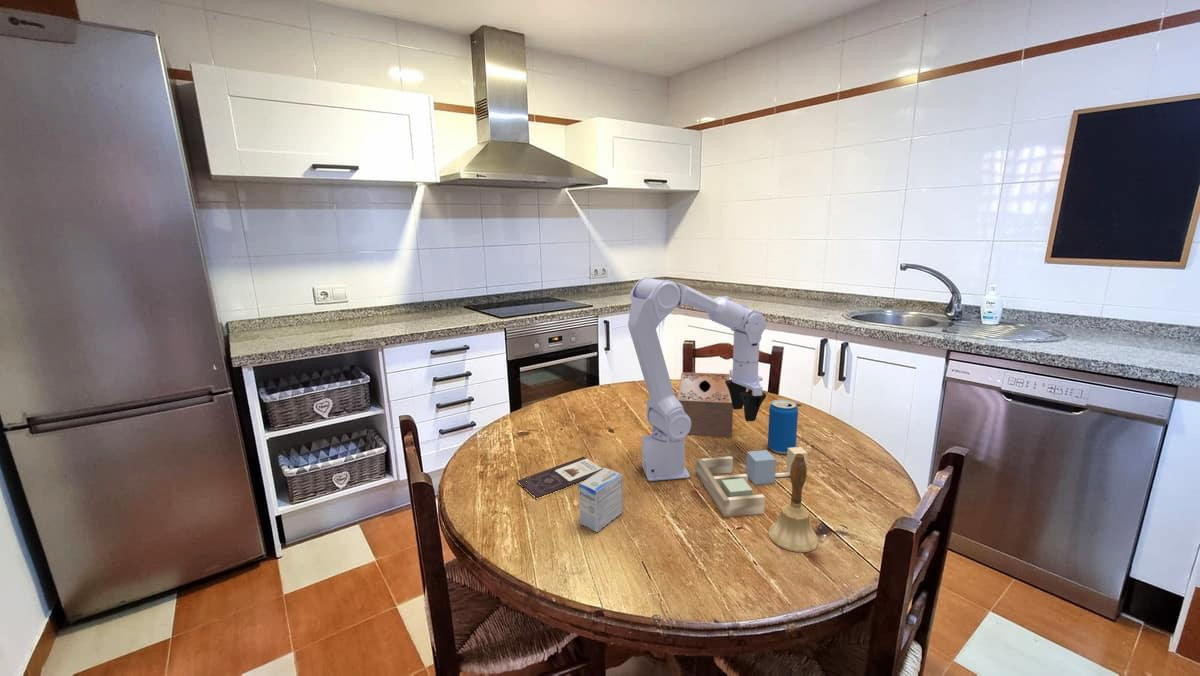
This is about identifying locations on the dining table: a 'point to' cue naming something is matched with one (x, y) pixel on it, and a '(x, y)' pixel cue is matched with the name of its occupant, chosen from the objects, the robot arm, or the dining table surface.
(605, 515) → the medicine box
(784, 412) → the beverage can
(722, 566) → the dining table surface
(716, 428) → the tissue box cover
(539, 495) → the chocolate bar
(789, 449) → the corded block
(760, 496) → the rack
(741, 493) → the plain block
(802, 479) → the hand bell
